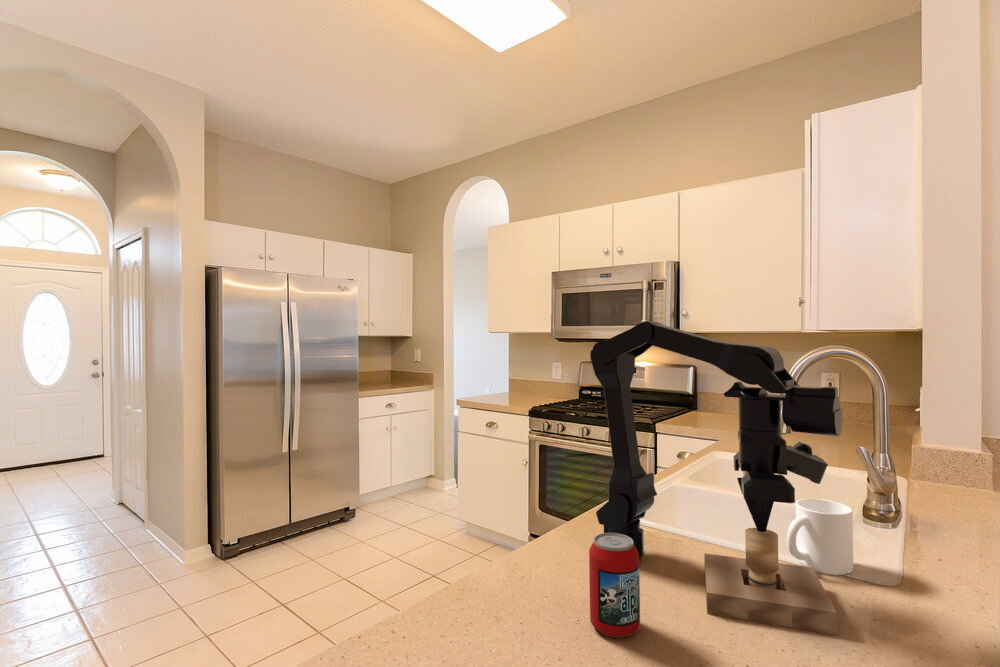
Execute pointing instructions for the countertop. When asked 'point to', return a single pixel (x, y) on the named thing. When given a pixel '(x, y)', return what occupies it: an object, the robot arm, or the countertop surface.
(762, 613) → the board
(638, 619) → the beverage can
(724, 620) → the countertop surface
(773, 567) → the peg
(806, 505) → the mug
